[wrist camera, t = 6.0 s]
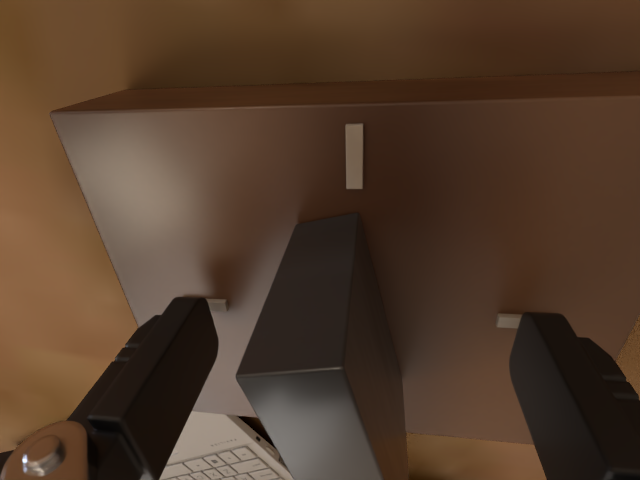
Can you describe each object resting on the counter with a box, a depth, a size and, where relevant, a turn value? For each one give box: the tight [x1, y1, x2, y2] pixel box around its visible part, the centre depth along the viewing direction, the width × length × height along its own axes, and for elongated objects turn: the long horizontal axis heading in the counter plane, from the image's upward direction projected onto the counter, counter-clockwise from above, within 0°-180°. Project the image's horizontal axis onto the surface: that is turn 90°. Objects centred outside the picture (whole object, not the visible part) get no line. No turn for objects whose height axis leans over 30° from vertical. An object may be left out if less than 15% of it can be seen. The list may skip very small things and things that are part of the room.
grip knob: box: [235, 213, 409, 480], centre depth 8 cm, size 6×2×5 cm, turn 16°
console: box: [50, 71, 640, 445], centre depth 11 cm, size 14×11×3 cm
